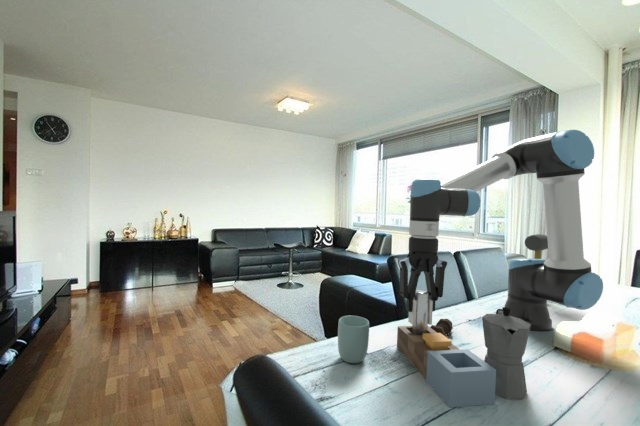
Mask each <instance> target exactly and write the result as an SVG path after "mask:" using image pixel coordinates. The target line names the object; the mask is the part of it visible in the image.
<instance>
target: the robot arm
mask: <svg viewBox="0 0 640 426" xmlns="http://www.w3.org/2000/svg"><path fill="white" fill-rule="evenodd" d="M594 157H595V147H594V144H593V142H592V140H591V138H590V137H589V136H588V135H586V133H585V132H583V131H581V130H578V129H567V130H560V131H555V132H552V133H547V134H543V135H538V136H533V137H529V138H525V139H523V140H520V141H518V142H516V143H513V144H512V145H510V146H508V147H506V148H504V149H503V150H501V151H498V152H497V153H495V154H493V155H492V157H491V159H488V160H487V161H485V162H482V163H481V164H479V165H476V166H474V167H473V168H469V169H468V170H466V171H463V172H462V173H459V174H458V175H456V176H454V177H451V178H450V179H448V180H445V181H443V182H441V181H440V180H439V179H436V178H418V179H415V180H413V181H412V182H411V187H410V195H409V197H410V204H409V205H410V206H409V208H410V209H409V227H408V228H409V229H408V230H409V231H408V233H409V234H408V235H410V236H409V237H408V255H406V256H407V257H406V258H404V259H398V260H397V264H398V268H399V296H401V297H403V298H404V299H405V300H406V303H405V309H406V311H408V318H407V319H408V323H410V325H411V326H412V325H416V304H417V301H416V300H414V296H415V292H416V290H417V288H418V287H417V286H418V282H419V279H420V276H421V273H423V274H424V277H425V278H424V279H425V286H426V291H427V292H429V307H428V326H430V325H431V326H432V325H433V312H435V310H436V301H439V298H442V297H443V295H444V285H445V282H444V281H445V273H446V272H445V271H446V268H447V265H448V262H447V260H443V259H440V258H439V256H438V251H439V239H438V238H437V237H439V229H440V228H439V227H440V217H441V216H450V217H451V216H453V217H472V216H475V215H476V214H477V213H478V212H479V210H480V207H481V202H482V201H481V197H480V195H479V193H478V191H481V190H483V189H485V188H487V187H488V186H489V187H490V186H491V185H492V184H494V183H495V184H496V183H497V182H499V181H501V180H502V179H503V180H509V179H511V178H513V177H516V176H520V175H525V174H527V175H528V174H536V180H538V181H539V182H540V183H541V184H542V185H543V186H542V187H543V198H544V199H543V200H544V212H545V225H546V236H547V240H548V249H547V252H548V258H547V259H546V258H543V259H542V258H541V259H534V258H512V259H511V260H510V261H509V266H508V267H509V268H508V281H507V282H508V283H507V299H506V301H505V303H504V306H503V307H508V308H510V309H511V310H510V314H509V316H513V317H516V318H520V319H522V320H523V321H525V322H527V323H529V324H531V327H530V331H531V330H532V331H540V332H541V331H542V332H544V331H545V330H546V331H551V330H552V329H551V328H552V327H553V320H552V319H551V316H550V311H549V308H548V304H547V303H548V301H549V302H552V303H555V304H558V305H562V306H564V307H566V308H571V309H575V310H580V311H584V310H588V309H591V308H592V307H594V306H595V305H596V304H597V303H598V301H600V298H602V294H603V291H604V282H603V279H602V277H601V276H600V275H599V274H596V273H595V272H592V264H591V263H590V262H589V261H588V260H586V258H585V257H584V256H585V255H584V254H585V253H584V241H583V227H582V212H581V201H580V200H581V199H580V189H579V188H580V185H579V183H580V182H579V180H580V179H582V177H584V175H585V169H586V168H587V167H589V166H590V165H591V164H592V163H593V160H594V159H595V158H594ZM409 265H410V266H411V267H410V276H409V270H408V269H409V268H408V267H409ZM435 266H436V267H435ZM434 267H435V270H434Z"/></svg>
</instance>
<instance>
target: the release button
mask: <svg viewBox="0 0 640 426" xmlns="http://www.w3.org/2000/svg"><path fill="white" fill-rule="evenodd" d="M423 339H424V340H425V344H426V345H428V346H429V347H430V348H431V349H432V350H445V349H448V346H451V344H453V343H452V340H451V339H450V338H448V336H447V337H445V336H444V335H443V334H441V333H423Z"/></svg>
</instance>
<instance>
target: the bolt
mask: <svg viewBox="0 0 640 426" xmlns="http://www.w3.org/2000/svg"><path fill="white" fill-rule="evenodd" d="M429 327H430V328H432V329H433V330H434V331H436V332H437V333H441V334H443V335H444V336H445V337H447V338H448V335H449V334H450V332H451V331H452V330H453V329H454V328H453V322H452V321H451V319H449V318H440V319H438V322H436V324H432V325H431V326H429Z"/></svg>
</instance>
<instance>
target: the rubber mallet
mask: <svg viewBox="0 0 640 426" xmlns="http://www.w3.org/2000/svg"><path fill="white" fill-rule="evenodd" d="M524 240H525V241H524V246H525V247H526V248H527V249H528V250H529V251H532V252H533V251H534V255H533V256H534V257H533V259H542V251H544V250H548V240H547V234H538V233H537V234H531V235H528V236H527V237H526V238H525V239H524Z"/></svg>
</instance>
